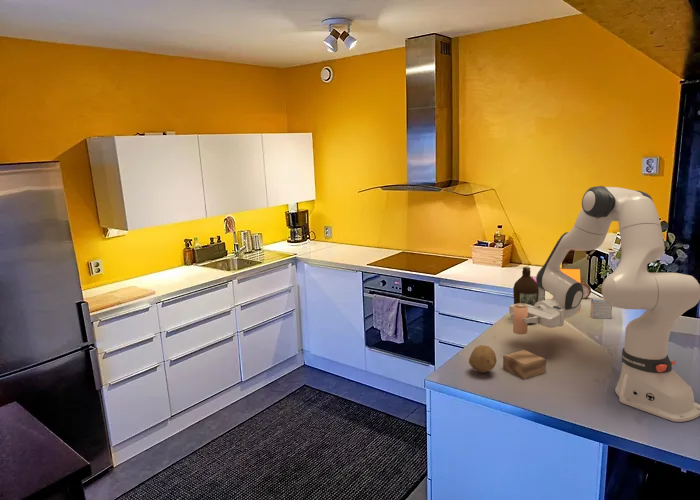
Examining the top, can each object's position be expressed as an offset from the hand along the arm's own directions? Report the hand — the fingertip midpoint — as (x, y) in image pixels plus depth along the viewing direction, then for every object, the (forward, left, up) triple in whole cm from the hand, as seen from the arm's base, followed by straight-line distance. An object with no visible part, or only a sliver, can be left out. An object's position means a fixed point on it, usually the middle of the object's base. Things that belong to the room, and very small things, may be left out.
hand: (518, 318), depth 176 cm
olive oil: (+24, -29, -15) cm, 41 cm away
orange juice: (+25, -58, -15) cm, 65 cm away
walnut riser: (-11, +8, -14) cm, 20 cm away
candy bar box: (+30, -43, -15) cm, 55 cm away
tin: (+36, -76, -15) cm, 86 cm away
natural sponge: (-5, +21, -15) cm, 26 cm away
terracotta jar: (0, -1, -6) cm, 6 cm away
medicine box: (+10, -61, -15) cm, 64 cm away
